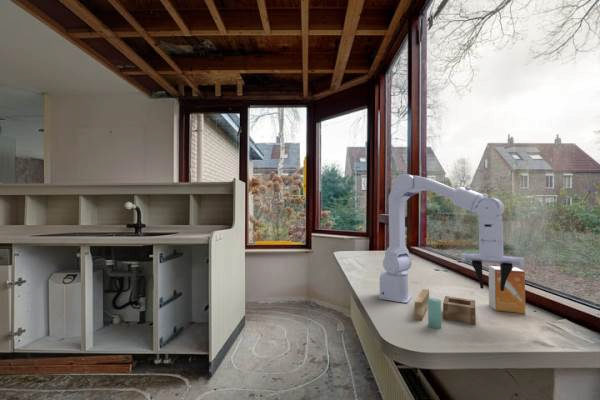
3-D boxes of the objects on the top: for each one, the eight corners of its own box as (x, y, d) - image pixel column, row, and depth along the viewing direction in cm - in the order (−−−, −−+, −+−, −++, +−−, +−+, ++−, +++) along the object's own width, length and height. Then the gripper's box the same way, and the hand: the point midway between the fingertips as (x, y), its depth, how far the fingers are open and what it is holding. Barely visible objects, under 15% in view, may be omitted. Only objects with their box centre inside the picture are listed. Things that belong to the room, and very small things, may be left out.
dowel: (427, 326, 76) (427, 300, 77) (429, 322, 79) (428, 297, 79) (440, 329, 75) (440, 302, 75) (441, 325, 77) (441, 299, 78)
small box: (495, 311, 89) (494, 269, 89) (488, 304, 95) (488, 265, 95) (526, 314, 86) (525, 270, 87) (517, 307, 92) (516, 267, 93)
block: (443, 318, 82) (443, 303, 82) (445, 310, 89) (445, 295, 89) (475, 324, 78) (475, 308, 78) (475, 315, 85) (475, 300, 85)
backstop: (414, 318, 82) (414, 301, 82) (422, 304, 95) (422, 289, 95) (422, 320, 81) (422, 302, 81) (429, 305, 94) (429, 290, 94)
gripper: (460, 240, 80) (461, 288, 80) (525, 243, 73) (526, 296, 72) (461, 238, 86) (462, 282, 86) (521, 240, 79) (522, 290, 78)
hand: (491, 288), depth 80 cm, fingers open, 4 cm apart
